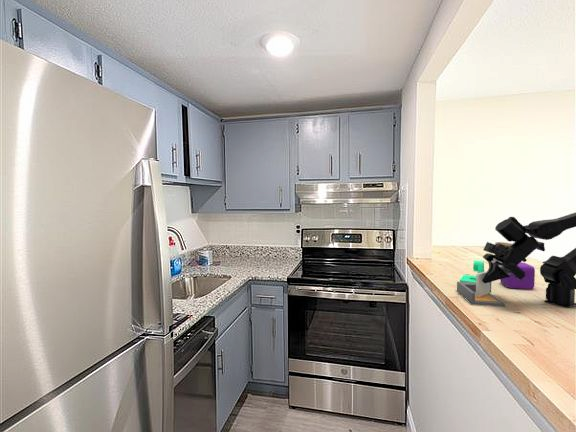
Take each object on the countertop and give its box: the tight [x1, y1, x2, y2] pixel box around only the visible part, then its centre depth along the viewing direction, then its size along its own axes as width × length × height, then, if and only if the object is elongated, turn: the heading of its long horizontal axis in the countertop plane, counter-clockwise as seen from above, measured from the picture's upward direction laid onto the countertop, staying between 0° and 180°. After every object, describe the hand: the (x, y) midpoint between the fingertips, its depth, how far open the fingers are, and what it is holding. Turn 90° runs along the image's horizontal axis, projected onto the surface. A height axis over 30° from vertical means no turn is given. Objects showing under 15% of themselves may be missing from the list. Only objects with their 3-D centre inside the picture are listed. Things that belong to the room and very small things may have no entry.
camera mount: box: [459, 260, 485, 282], centre depth 130 cm, size 12×8×10 cm, turn 143°
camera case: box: [456, 281, 506, 307], centre depth 112 cm, size 10×17×4 cm, turn 168°
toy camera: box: [499, 261, 536, 290], centre depth 128 cm, size 11×14×10 cm
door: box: [475, 270, 492, 297], centre depth 111 cm, size 1×10×8 cm, turn 125°
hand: (483, 282), depth 109 cm, fingers closed
